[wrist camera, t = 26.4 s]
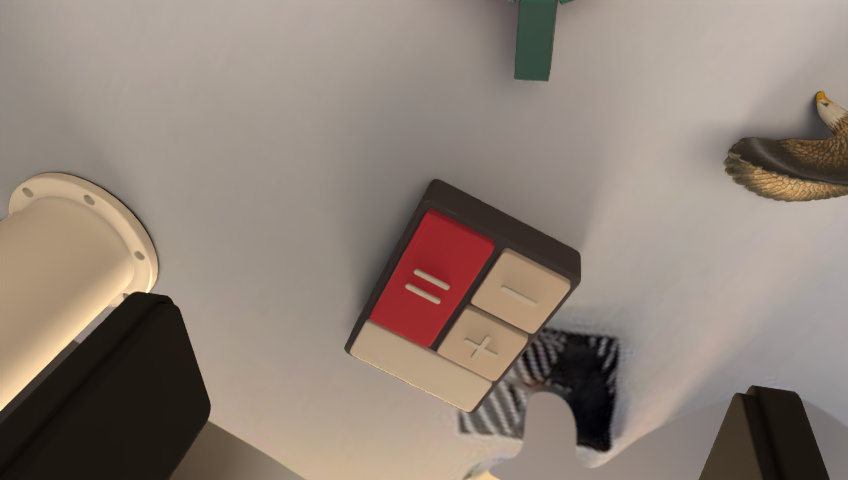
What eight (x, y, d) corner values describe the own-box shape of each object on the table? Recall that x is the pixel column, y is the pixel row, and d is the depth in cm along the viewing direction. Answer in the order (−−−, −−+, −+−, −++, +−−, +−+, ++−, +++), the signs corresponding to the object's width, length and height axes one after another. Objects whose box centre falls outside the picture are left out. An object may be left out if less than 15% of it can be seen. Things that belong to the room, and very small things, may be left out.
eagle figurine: (905, 8, 27) (704, 110, 29) (1027, 123, 23) (784, 228, 26) (883, 103, 33) (719, 180, 35) (977, 206, 29) (785, 283, 32)
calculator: (584, 286, 36) (471, 424, 44) (583, 248, 39) (479, 382, 48) (421, 202, 35) (338, 358, 43) (435, 171, 39) (356, 321, 47)
